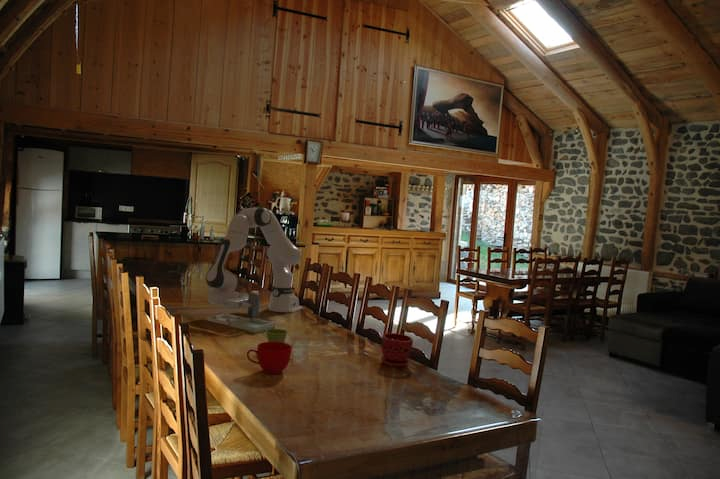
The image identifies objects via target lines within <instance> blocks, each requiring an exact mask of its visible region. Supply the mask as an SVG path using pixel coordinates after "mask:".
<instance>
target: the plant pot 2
mask: <svg viewBox="0 0 720 479" xmlns="http://www.w3.org/2000/svg"><path fill="white" fill-rule="evenodd" d="M413 342H414V339H413V338H412V337H411V336H410V335H406V334H404V333H403V334H402V333H396V332H395V333H394V332H388V333H384V334H383V335H382V337H381V353H382V357H381V358H380V359H381V360H380V361H381V362H382V363H383V364H384V365H386V366H389V367H395V368H396V367H397V368H398V367H399V368H401V367H404V366H407V365H408V364H409V360H408V359H409V357H410V355H411V352H412V349H413Z"/></svg>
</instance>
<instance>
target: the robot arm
mask: <svg viewBox="0 0 720 479" xmlns="http://www.w3.org/2000/svg"><path fill="white" fill-rule="evenodd" d="M258 227H259V228H260V230H261V232H262V234H263V236H264V239H265V241H266V242H267V244H268V245H269V247H268V248H267V249H266V250H267V251H266V256H267V257H268V259H269V260H270V264H271V268H272V276H273V279H272V286H271V294H270V296H269V301H268V302H269V303H268V305H267V307H266V308H267V309H268V310H269V311H271V312H277V313H296V312H298V311H300V310H303V309H302V308H303V306H301V305H300V299H299V298H298V296H296V295H295V294H294V291H296V287H295V286H292V282H293V274H292V272H291V270H290V268H289V266H294V265H298V264H299V263H300V262H301V261H302V257H303V255H302V254H303V253H302V251H301V249H299V248H298V247H297V246H295V245H294V244H293V242H292V241H291V240H290V238H288V236H287V234H286V233H285V232H284V229H283V227H282V226H281V224H280V222H279V220H278V218H277V217H276V215H275V214H274V213H273V211H272V210H270V209H267V208H265V207H261V206H259V207H248V208H242V209H239V210H238V211H237V212H236V213H235V215H233V216H232V218H231V220H230V223H229V224H228V227H227V231H226V234H225V237H224V239H223V240H222V241H220V243H219V245H218V246H217V250H216V252H215V254H214V258H213V260H212V263H211V265H210V267H209V268H208V271H207V273H206V275H205V281H206V282H205V283H206V284H207V286H208V287H210V289H209V290H208V291H207V293H206V298H207V301H208V302H209V303H211V304H212V305H213V306H214V305H215V306H218V307H225V308H227V309H232V310H237V309H239V308H240V309H241V308H245V307H246V308H248V307H251V306H252V304H251V303H248V299H249V293H247V292H240V291H236V289H237V287H238V277H237V276H236V275H235V274H233V273H231V272H228V271H225V270H224V266H225V263H226V260H227V258H228V256H229V254H230V253H232V252H237V251H240V250H242V249H243V248H245V246H246V244H247V240H248V236H249V231H250V228H252V229H253V228H258ZM259 306H261V301H259Z"/></svg>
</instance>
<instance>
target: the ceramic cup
mask: <svg viewBox="0 0 720 479" xmlns="http://www.w3.org/2000/svg"><path fill="white" fill-rule="evenodd" d="M251 352H254V353H255V354H256V355H257V360H258V361H257V360H253V359H251V357H250V356H249V354H250V353H251ZM291 354H292V345H290V344H289V343H286V342H284V343H282V342H268V341H266V342H264V341H263V342H261V343H258V344H257V350H256V349H249V350H248V351H247V352H246V358H247V360H249V362H251V363H253V364H257V365H259V366H260V368H261V369H262V370H263V372H264V371H265V372H266V373H265V372H264V373H265V374H268V373H271V374H270V375H278V374H277V373H279V374H282V372H283V371H285V369H286V368H287V366H288V365H289V362H290V359H291Z"/></svg>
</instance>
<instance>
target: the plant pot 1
mask: <svg viewBox="0 0 720 479" xmlns="http://www.w3.org/2000/svg"><path fill="white" fill-rule="evenodd" d="M288 332H289V331H288V330H285V329H281V328H274V329H269V330H267V331H265V334H266V336H267V342H282V343H286V342H285V341H286V337H287V334H288Z"/></svg>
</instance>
